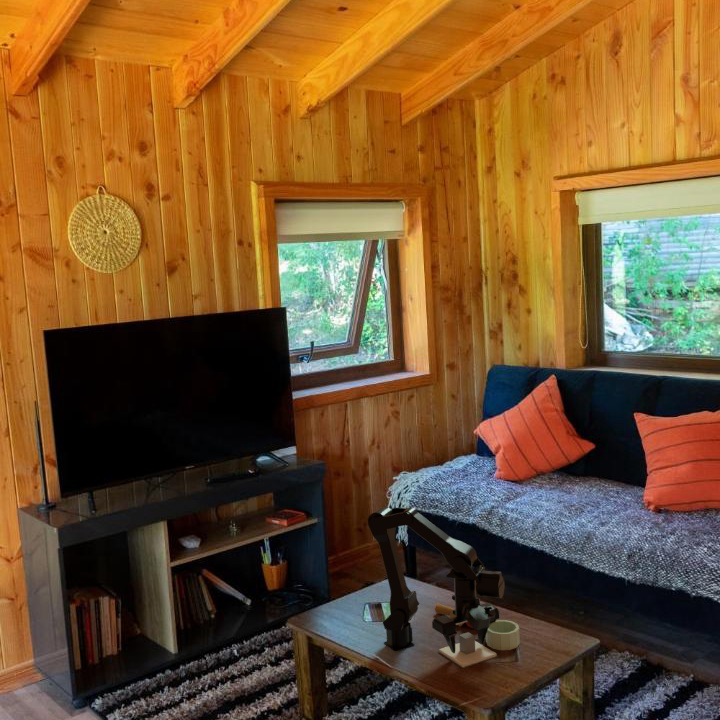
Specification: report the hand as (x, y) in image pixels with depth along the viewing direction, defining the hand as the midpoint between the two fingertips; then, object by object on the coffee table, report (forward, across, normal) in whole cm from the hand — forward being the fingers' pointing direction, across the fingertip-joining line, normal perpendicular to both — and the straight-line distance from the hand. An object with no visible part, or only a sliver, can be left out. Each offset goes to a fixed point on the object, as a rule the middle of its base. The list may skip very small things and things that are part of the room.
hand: (467, 648), depth 245 cm
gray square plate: (+2, 0, 0) cm, 2 cm away
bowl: (+2, +12, 0) cm, 12 cm away
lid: (+2, 0, 0) cm, 2 cm away
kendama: (+2, +11, +20) cm, 23 cm away
